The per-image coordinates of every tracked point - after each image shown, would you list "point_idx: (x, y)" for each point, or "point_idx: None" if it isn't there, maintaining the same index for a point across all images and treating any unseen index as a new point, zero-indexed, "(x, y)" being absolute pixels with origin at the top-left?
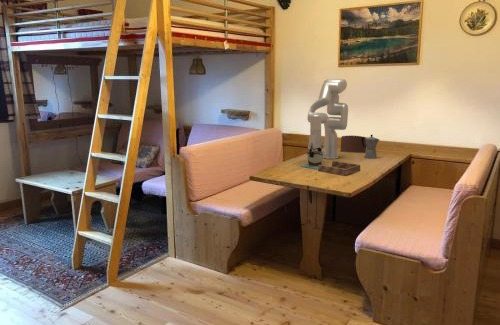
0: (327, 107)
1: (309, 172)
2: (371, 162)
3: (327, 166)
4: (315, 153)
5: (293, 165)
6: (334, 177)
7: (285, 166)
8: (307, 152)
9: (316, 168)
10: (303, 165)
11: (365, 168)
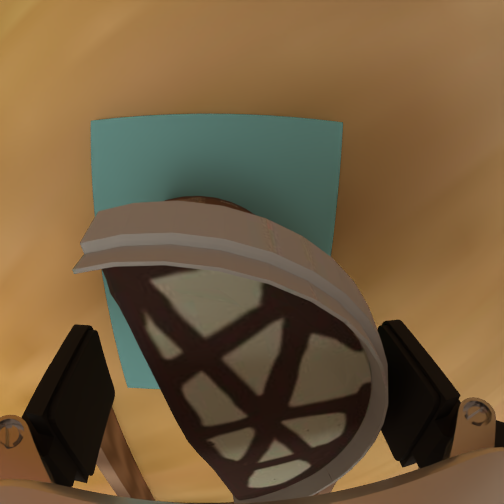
0: None
1: (4, 355)
2: (496, 413)
3: (112, 480)
4: (194, 439)
5: (95, 12)
6: (76, 483)
7: (10, 5)
8: (87, 262)
9: (120, 357)
10: (124, 140)
11: (368, 481)
